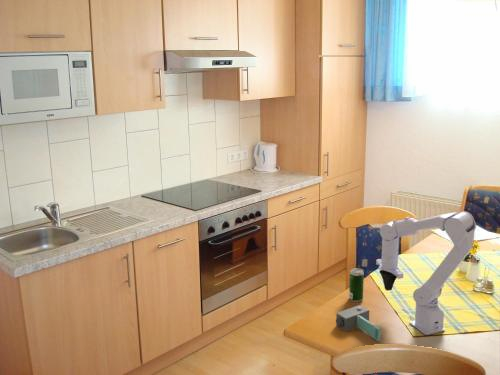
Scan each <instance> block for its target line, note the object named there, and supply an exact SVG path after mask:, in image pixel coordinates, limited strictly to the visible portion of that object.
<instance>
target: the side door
mask: <svg viewBox="0 0 500 375" xmlns="http://www.w3.org/2000/svg"><path fill="white" fill-rule="evenodd" d="M357 328H358V329H360V330H361V331H362V332H364V333H366V334H367V335H369V336H370V337H371V338H373V339H374V340H376V341H377V342H380V341H381V336H382V329H381V328H380V327H379V326H377V325H376V324H374V323H372V322H370V320H369V321H368V320H366V319H365V318H363V317H361V316H360V315H357Z"/></svg>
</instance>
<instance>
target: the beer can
mask: <svg viewBox="0 0 500 375" xmlns="http://www.w3.org/2000/svg"><path fill="white" fill-rule="evenodd" d="M364 273H365V272H364V269H362V268H360V267H359V268H357V267H355V268H354V267H353V268H351V269H350V271H349V287H348V288H349V289H348V292H349V293H348V297H349V300H350V301H351V302H354V303H358V302H362V301H363V299H364V280H365V279H364V276H365V274H364Z"/></svg>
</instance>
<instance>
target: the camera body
mask: <svg viewBox="0 0 500 375" xmlns="http://www.w3.org/2000/svg"><path fill="white" fill-rule="evenodd" d="M357 315H360V316H361V317H363V318H365V319H366V320H368V321H369V322H370V309H368V308H366V307H364V306H362V305H360V304H358V305H355V306H353V307H350V308H346V309H344V310H341V311H338V312H336V314H335V316H336V318H335V325H336V327H337V328H339V329H341V330H342V331H344V332H348V331H352V330H354V329H357V328H358V327H357Z"/></svg>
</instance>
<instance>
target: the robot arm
mask: <svg viewBox="0 0 500 375" xmlns="http://www.w3.org/2000/svg"><path fill="white" fill-rule="evenodd" d="M435 228H438V229H440V231H442V232H444V231H445V233H446V234H447V236H448V237H449V239H450V240H451V242H452V243H453V246H452V248H451V250H450V251H449V252H448V253H447V255H446V256H445V257H444V258H443V260H442V261H441V263H439V265H438V266H437V268H436V269H435V270H434V272H433V273H432V274H431V275H430V277H429V278H428V279H427V280H426V281H425V282H424V283H423V284H422V285H421V286H420V287H417V288H416V289H415V290H414V291H413V294H412V298H413V300H414V302H415V314H414V316H415V317H414V320H411V321H409V324H410V325H411V326H413V327H415V328H416V329H417V330H419V331H420V332H421V333H422V334H424V335H432V334H437V333H440V332H445V331H446V328H444V318H445V316H444V315H445V314H444V311H443V310H442V309H441V308H440V307H439V301H438V299H439V297H440V296H441V295H442V291H443V290H442V289H443V288H444V287H445V283H447V281H448V280H449V279H450V277H451V276H452V275H453V273H454V272H456V270H457V269H458V267H460V264H462V262H463V261H464V260H465V258H466V257H467V256H468V255H469V254H470V252H471V251H472V249H473V248H474V241H475V231H476V229H477V223H476V221H475V218H474V216H473V215H472V214H471V213H470V212H469V211H460V212H458V213H457V211H456V212H449V213H443V214H439V215H434V216H432V217H427V218H423V219H419V220H417V219H416V218H414V217H410V216H406V217H403V219H401V220H397V219H393V220H391V221H389V222H387V223H385V224H383V225H382V226H380V228H379V234H380V237H381V238H382V239H381V258H378V259H376V263H375V264H376V265H377V266H378V270H379V274H380V276H381V279H382V282H383V287H384V289H385V291H392V289H393V287H394V284H395V281H396V280H397V279H398V280H401V279H404V272H402V270H401V269H400V267H399V265H398V264H399V249H400V248H399V247H400V246H399V245H400V244H399V243H400V238H402V237H408V236H414V235H417V234H418V233H419V231H420V230H426V229H435Z"/></svg>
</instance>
